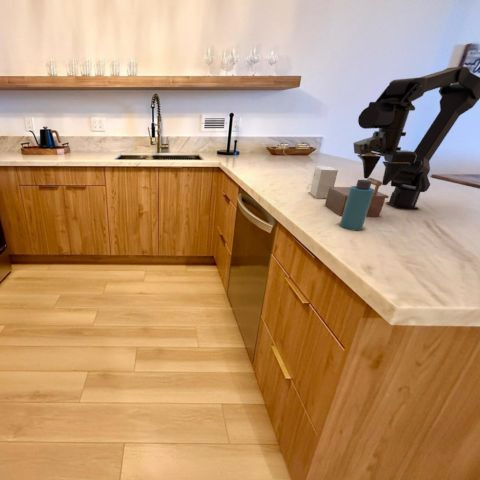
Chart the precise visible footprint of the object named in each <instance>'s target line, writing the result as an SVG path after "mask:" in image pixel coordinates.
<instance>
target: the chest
mask: <svg viewBox="0 0 480 480" xmlns="http://www.w3.org/2000/svg"><path fill="white" fill-rule="evenodd" d="M385 200H386V198H372V199H371V203H370V206H369V209H368V212H367V215H366V217H375V218H376V217H378V218H379V217H380V215H381V212H382V209H383V207H384V203H385ZM346 201H347V198H346V197H344V196H342V195H340V194H338V193H336V192H334V191H332V190H331V189H329V191H328V195H327V198H325V203H324V207H327V208H328V209H329V210H330V211H332V212H334V213H336V214H337V215H339V216H340V217H342V215H343V212H344V208H345V205H346Z"/></svg>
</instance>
